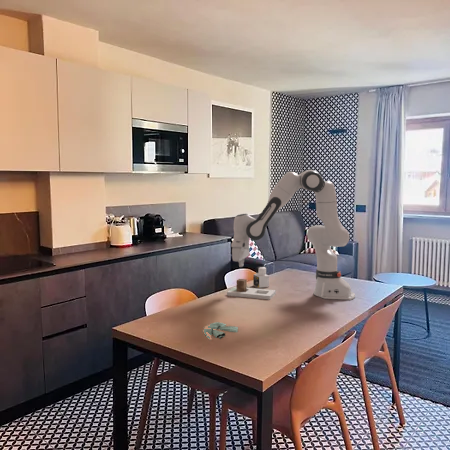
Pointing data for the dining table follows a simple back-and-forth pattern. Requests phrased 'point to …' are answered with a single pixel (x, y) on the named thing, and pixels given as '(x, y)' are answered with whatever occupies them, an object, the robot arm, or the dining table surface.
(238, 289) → the walnut block
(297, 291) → the dining table surface
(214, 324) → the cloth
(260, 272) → the medicine bottle
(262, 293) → the parts plate
